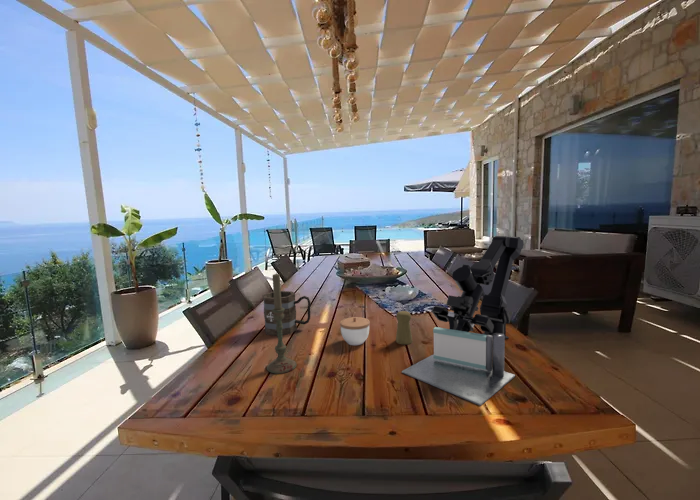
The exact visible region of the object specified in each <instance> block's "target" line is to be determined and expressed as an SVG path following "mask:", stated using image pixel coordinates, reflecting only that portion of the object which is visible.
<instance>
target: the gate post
mask: <svg viewBox="0 0 700 500" xmlns="http://www.w3.org/2000/svg"><path fill="white" fill-rule="evenodd" d="M505 342H506V339H505V335H504V334H501V333H493V341H492V371H487V370H485V369H480V368H476V367H471V366H466V365H462V364H457V363H452V362H447V361H443V360H438V359H434V353H433V354H431V355H429V356H427V357H426V358H424V359H422V360H420V361H418V362H416V363H413V364H412V365H411V366H409V367H407V368H404V369H403V370H402V371H401V373H402V374H404V375H406V376H409V377H411V378H413V379H416V380H418V381H421V382H423V383H426V384H428V385H431V386H433V387H435V388H437V389H440V390H442V391H444V392H446V393H449V394H452V395H454V396H456V397H458V398H461V399H463V400H465V401H468V402H470V403H473V404H475V405H478V406H482V405H483V404H485V402H487V401H488V400H489V399H490V398H492V397H493V396H494V395H495V394H497V392H499V391H500V390H501V389H502V388H504V387H505V386H506V385H507V384H509V382H511V380H513V379H514V378H516V374H514V373H511V372H507V371H505Z"/></svg>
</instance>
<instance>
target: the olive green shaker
mask: <svg viewBox="0 0 700 500" xmlns="http://www.w3.org/2000/svg"><path fill="white" fill-rule="evenodd" d="M411 319H412V315H411V313H410V312H409V311H407V310H402V311H401V310H400V311H398V312H397V313H396V320H397V327H396V333H395V334H396V336H395V343H397V344H398V345H409V344H410V345H411V344H412V343H413V336H412V331H411V323H410V321H411Z"/></svg>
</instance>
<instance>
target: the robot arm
mask: <svg viewBox="0 0 700 500" xmlns="http://www.w3.org/2000/svg"><path fill="white" fill-rule="evenodd" d="M523 248H524V240H523V239H521V237H520V236H506V235H495V236H492V238H491V242H490V244H489V246H488V247H487V249H486V250H485V252H484V254H483V255H482V257H481V258H480V260H478V261H476V262H474V263H473V264H472V265H471V266H470V264H462V266H461V267H458V268H457V269H455V270H454V271H453V272H452V280H454V282H455V284H456V286H457V288H458V289H459V290H460V291H462V292H461V294H460V295H458V296H455V295H450V294H449V295H448V297H447V301H446V304H445V305H446V306H447V307H448V306H449V307H450V309H451V311H449V310H448V309H447V307H446V306H441V305H434V306H433V307H432V309H431V313H432V315H434V317H435V318H436V319H437V321H440V322H444V323H447V322H448V323H449V324H448V325H449V329H452V330H458V331H465V332H474V327H475V325H477V326H480V330H481V331H482V332H483V333H482V334H484V335H492V336H493V333H501V334H504V335H505V340H507V339H509V338H510V337H509V336H507V334H506V333H507V331H506V330H507V325H508V324H510V322H511V318H512V316H511V313H510V312H509V310H508V303H507V300H506V298H505V295H506V291H507V287H508V284H509V279H510V275H511V271H512V267H513V263H514V261H515V260H516V259H517V258H518V257H520V255H521V252H522V250H523ZM496 265H497V266H496ZM495 266H496V270H495V272H494V268H495ZM491 283H492V284H491ZM490 284H491V288H490V292H489V293H488V294H485V289H484V288H483V287H482V286H481V285H483V286H489V285H490ZM481 297H482V300H481ZM480 300H481V303H480V306H479V307H478V305H479V302H480ZM478 310H479V312H480V314H479V313H476V314H475V312H478Z"/></svg>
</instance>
